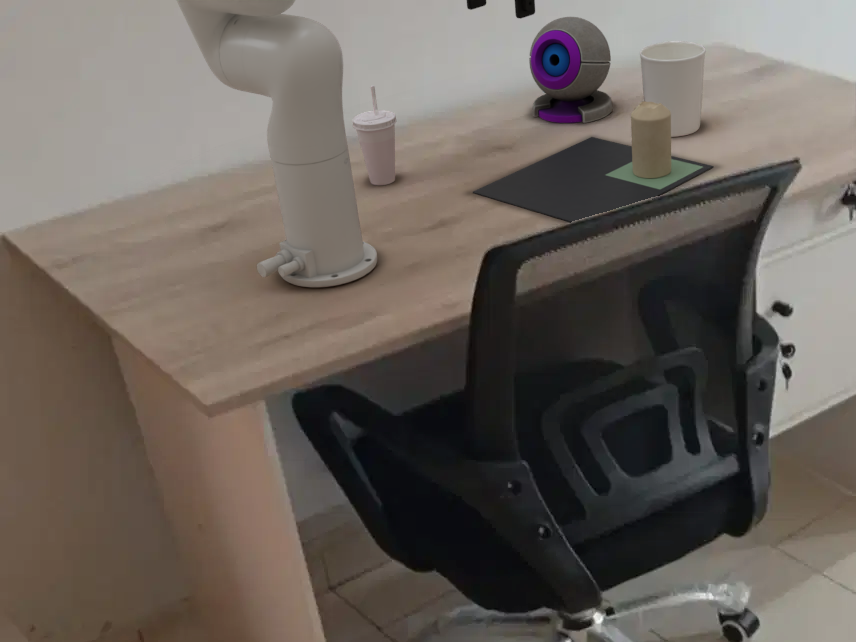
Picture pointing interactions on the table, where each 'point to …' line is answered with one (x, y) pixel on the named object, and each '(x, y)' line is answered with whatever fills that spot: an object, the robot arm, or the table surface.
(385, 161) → the smoothie
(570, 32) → the webcam
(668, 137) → the candle
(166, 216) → the table surface
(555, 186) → the desk pad
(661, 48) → the candle holder
